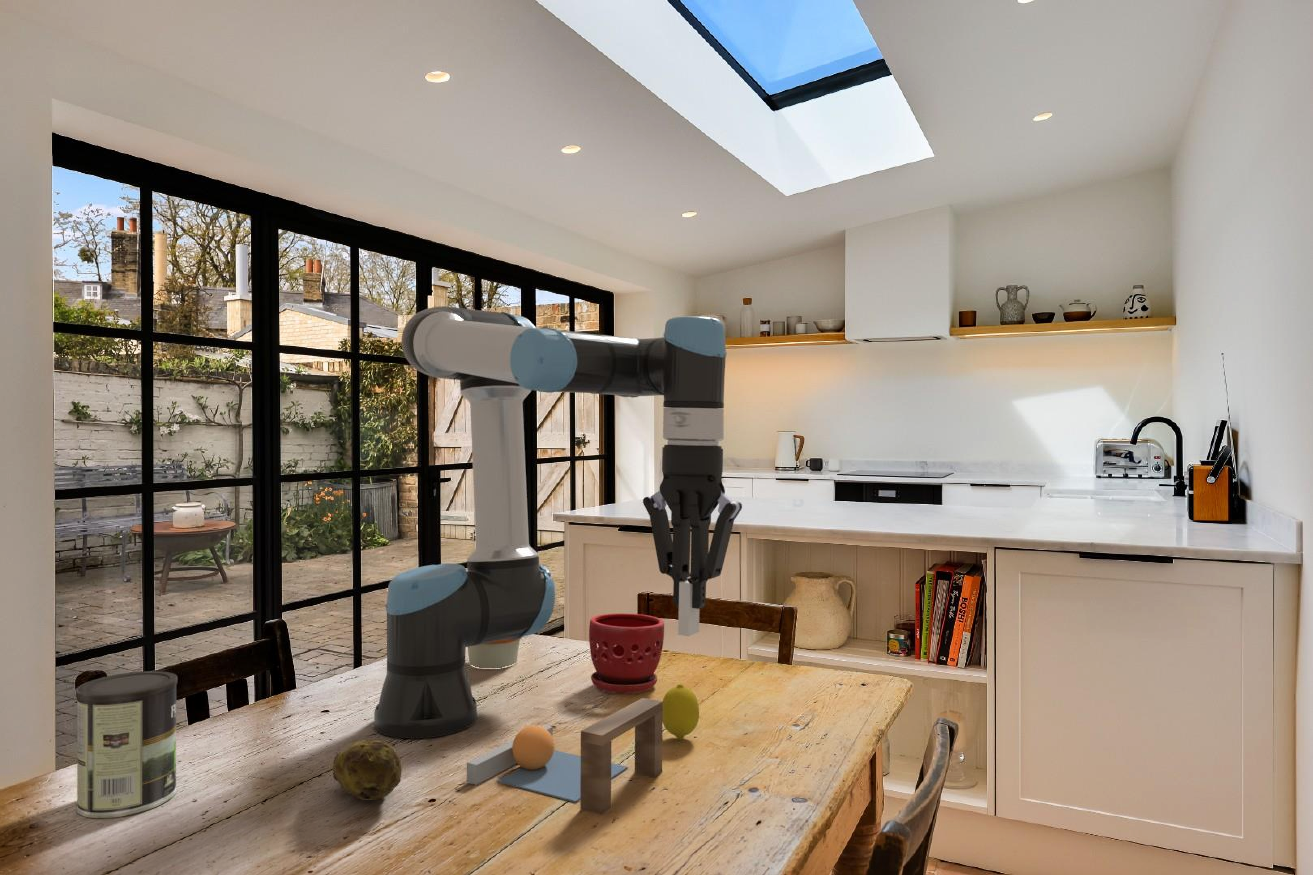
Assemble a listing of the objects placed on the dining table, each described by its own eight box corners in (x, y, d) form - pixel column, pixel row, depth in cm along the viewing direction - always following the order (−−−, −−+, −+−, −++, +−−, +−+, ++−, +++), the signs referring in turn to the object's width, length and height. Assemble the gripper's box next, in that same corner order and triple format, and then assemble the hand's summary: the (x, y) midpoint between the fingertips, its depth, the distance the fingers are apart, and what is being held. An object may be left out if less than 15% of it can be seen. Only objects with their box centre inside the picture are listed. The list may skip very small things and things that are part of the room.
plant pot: (639, 703, 138) (639, 630, 138) (574, 690, 144) (574, 621, 144) (677, 683, 149) (677, 616, 149) (615, 672, 156) (615, 608, 156)
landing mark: (497, 781, 106) (497, 780, 106) (553, 751, 116) (553, 749, 116) (575, 802, 100) (575, 800, 100) (627, 768, 110) (627, 766, 110)
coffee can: (163, 775, 107) (164, 665, 107) (187, 800, 100) (188, 682, 100) (67, 799, 100) (67, 681, 100) (84, 828, 93) (85, 701, 93)
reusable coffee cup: (506, 651, 170) (507, 578, 170) (538, 665, 160) (538, 586, 160) (449, 661, 162) (449, 584, 162) (478, 676, 152) (478, 594, 152)
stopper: (466, 782, 106) (466, 762, 106) (543, 742, 120) (543, 724, 120) (476, 784, 105) (476, 764, 105) (552, 744, 119) (552, 726, 119)
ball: (544, 751, 106) (526, 784, 107) (568, 737, 111) (551, 769, 112) (514, 723, 108) (497, 756, 110) (539, 711, 113) (523, 743, 114)
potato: (403, 776, 107) (403, 713, 107) (401, 820, 95) (401, 749, 95) (334, 783, 105) (334, 719, 105) (322, 829, 93) (323, 757, 93)
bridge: (580, 809, 98) (580, 730, 98) (642, 767, 111) (642, 697, 111) (601, 815, 97) (602, 735, 97) (662, 771, 109) (662, 701, 109)
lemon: (695, 747, 118) (696, 690, 118) (657, 744, 119) (657, 688, 119) (701, 733, 123) (702, 679, 123) (664, 731, 124) (665, 677, 124)
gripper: (632, 441, 103) (628, 631, 104) (727, 445, 97) (722, 647, 97) (662, 441, 110) (658, 620, 110) (753, 444, 103) (749, 634, 104)
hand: (688, 632), depth 104 cm, fingers closed
